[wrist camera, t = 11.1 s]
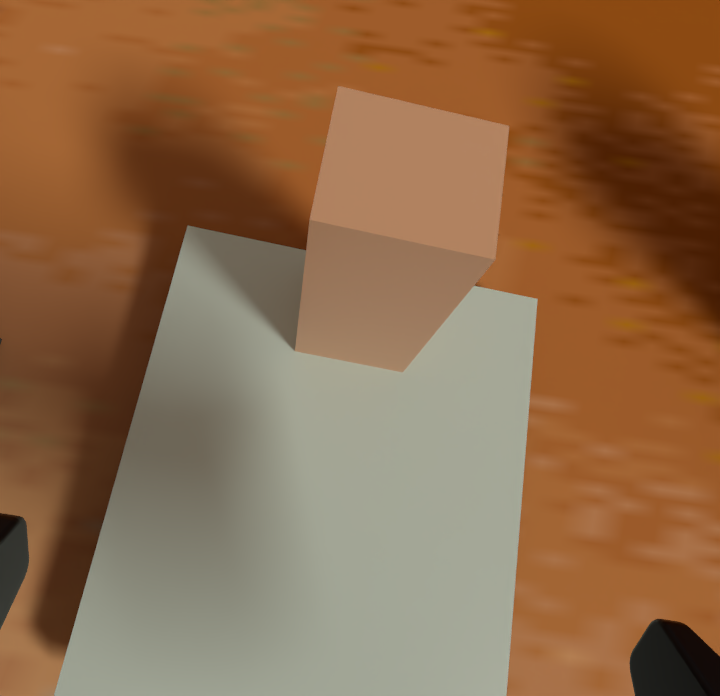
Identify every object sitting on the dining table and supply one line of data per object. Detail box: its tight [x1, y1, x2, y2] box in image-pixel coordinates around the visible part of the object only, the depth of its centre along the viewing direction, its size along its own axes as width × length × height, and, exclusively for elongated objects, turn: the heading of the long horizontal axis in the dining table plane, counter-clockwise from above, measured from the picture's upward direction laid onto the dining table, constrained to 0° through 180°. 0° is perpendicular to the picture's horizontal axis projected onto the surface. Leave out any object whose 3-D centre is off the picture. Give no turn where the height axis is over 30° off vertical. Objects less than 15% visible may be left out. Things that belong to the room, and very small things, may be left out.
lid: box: [54, 86, 537, 696], centre depth 15 cm, size 14×12×11 cm
